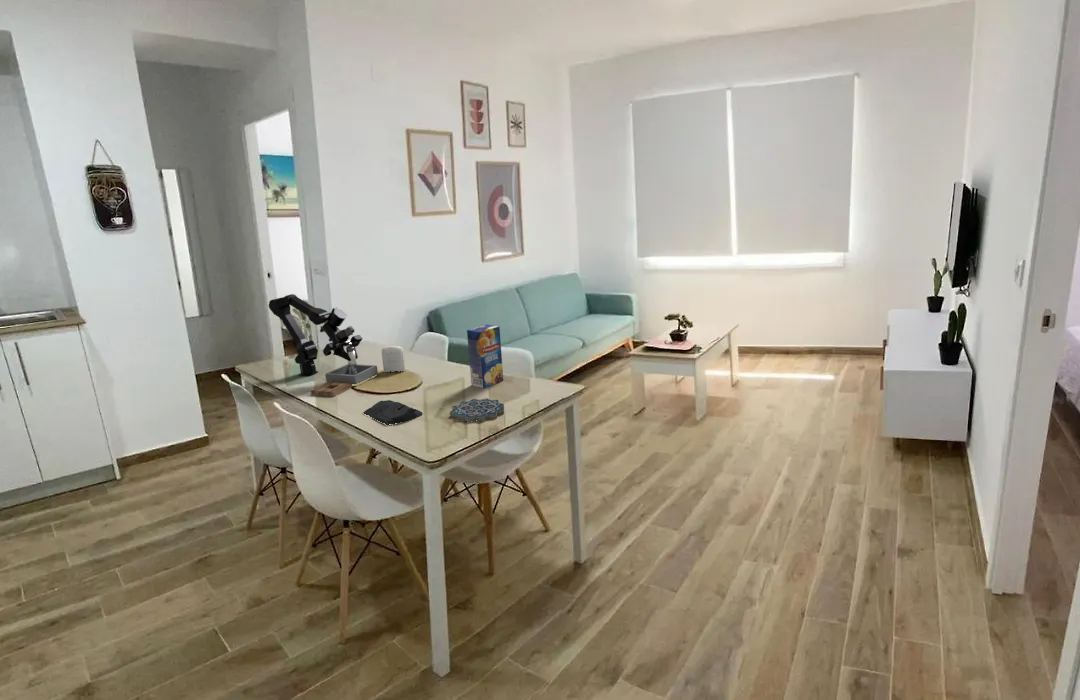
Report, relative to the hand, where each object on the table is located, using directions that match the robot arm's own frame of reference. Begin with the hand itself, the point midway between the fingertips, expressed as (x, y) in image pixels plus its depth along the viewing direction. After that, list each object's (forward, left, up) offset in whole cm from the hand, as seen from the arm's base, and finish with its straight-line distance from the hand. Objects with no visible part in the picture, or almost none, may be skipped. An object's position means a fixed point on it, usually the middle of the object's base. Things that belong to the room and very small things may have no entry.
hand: (353, 359), depth 274 cm
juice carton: (+61, +9, -10) cm, 62 cm away
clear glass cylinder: (-1, 0, -7) cm, 7 cm away
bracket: (-1, -15, -10) cm, 18 cm away
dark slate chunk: (+41, -34, -11) cm, 54 cm away
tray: (-2, 0, -10) cm, 10 cm away
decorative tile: (+73, -24, -10) cm, 77 cm away
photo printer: (+10, +16, -10) cm, 21 cm away
